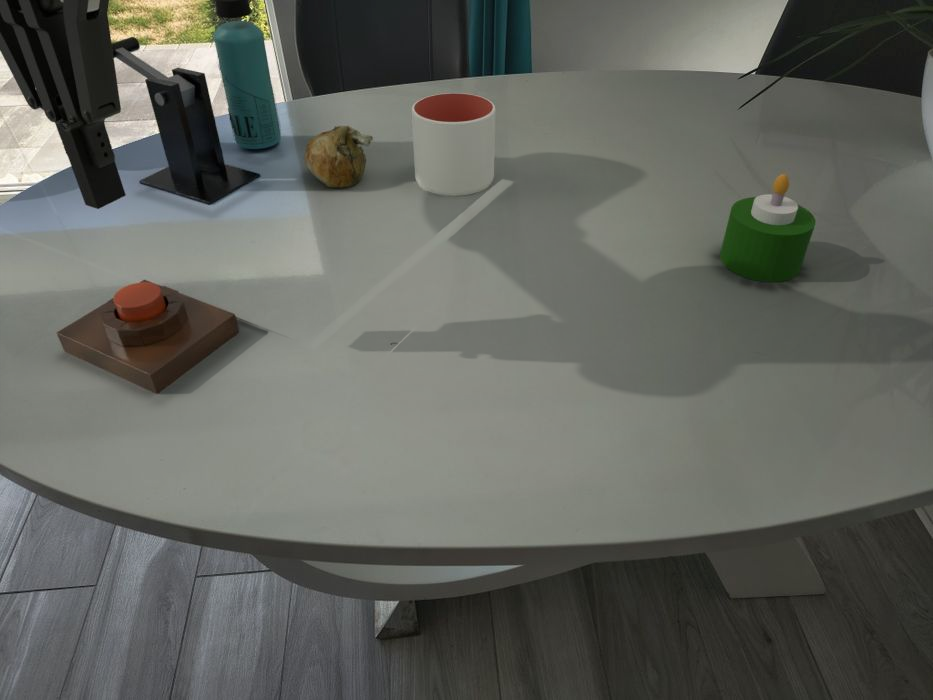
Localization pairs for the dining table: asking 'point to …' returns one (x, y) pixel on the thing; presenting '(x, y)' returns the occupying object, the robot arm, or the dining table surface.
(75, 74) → the robot arm
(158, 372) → the button block
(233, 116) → the beverage bottle
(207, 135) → the bracket
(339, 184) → the onion
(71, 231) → the dining table surface
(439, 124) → the cup
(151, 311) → the button
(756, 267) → the candle
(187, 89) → the lever
